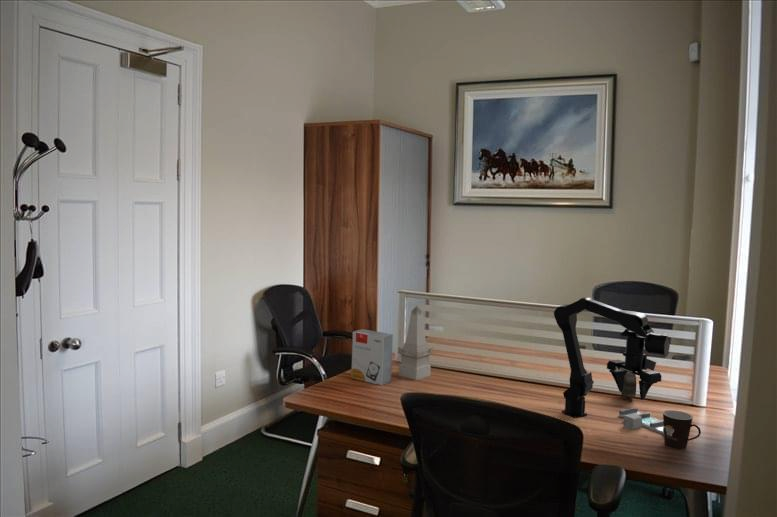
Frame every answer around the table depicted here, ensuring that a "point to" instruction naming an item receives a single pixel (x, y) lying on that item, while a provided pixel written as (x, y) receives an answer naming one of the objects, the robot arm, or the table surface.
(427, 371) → the miniature monument
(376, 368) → the hard drive box
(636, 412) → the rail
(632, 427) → the usb wall charger
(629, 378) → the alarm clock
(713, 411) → the table surface
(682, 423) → the coffee mug
